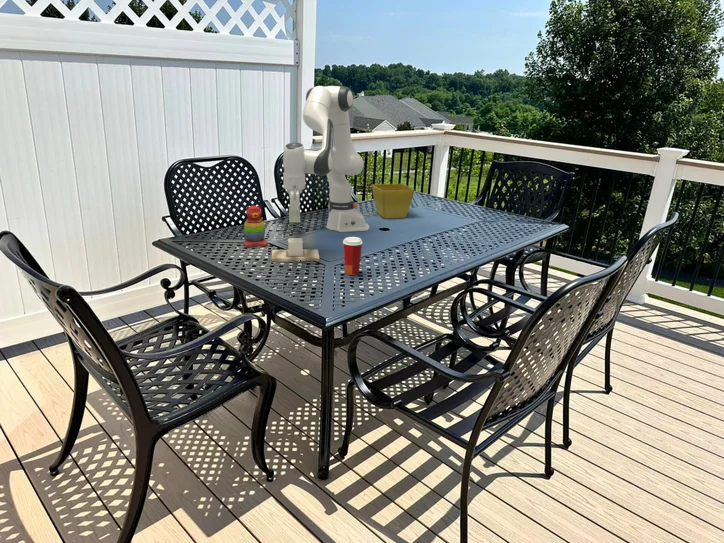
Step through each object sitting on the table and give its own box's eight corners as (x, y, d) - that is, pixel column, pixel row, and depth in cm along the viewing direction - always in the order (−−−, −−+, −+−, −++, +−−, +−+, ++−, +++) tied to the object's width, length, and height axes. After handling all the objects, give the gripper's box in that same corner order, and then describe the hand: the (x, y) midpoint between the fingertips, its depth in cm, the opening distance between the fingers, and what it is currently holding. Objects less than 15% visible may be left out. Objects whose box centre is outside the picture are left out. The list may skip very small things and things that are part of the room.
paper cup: (361, 269, 209) (362, 236, 204) (361, 276, 201) (363, 242, 196) (342, 269, 208) (342, 236, 203) (342, 276, 201) (342, 241, 196)
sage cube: (299, 219, 218) (299, 206, 216) (300, 222, 214) (300, 209, 212) (289, 219, 217) (288, 206, 215) (289, 222, 213) (289, 209, 211)
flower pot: (370, 212, 300) (371, 184, 294) (400, 211, 305) (402, 183, 299) (381, 220, 283) (382, 190, 277) (412, 219, 288) (414, 189, 282)
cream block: (302, 251, 224) (302, 238, 222) (302, 255, 218) (302, 242, 216) (288, 251, 223) (288, 238, 221) (288, 256, 217) (288, 242, 215)
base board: (317, 251, 228) (317, 249, 228) (319, 260, 217) (319, 257, 216) (272, 252, 225) (272, 249, 225) (271, 261, 214) (271, 258, 214)
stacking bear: (243, 247, 230) (241, 209, 224) (242, 241, 239) (240, 203, 233) (268, 246, 233) (266, 208, 227) (266, 240, 242) (264, 203, 236)
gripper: (302, 189, 201) (303, 223, 206) (301, 179, 220) (301, 211, 225) (286, 188, 200) (287, 223, 205) (286, 179, 219) (287, 211, 224)
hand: (294, 216), depth 215 cm, fingers closed on sage cube, 4 cm apart
